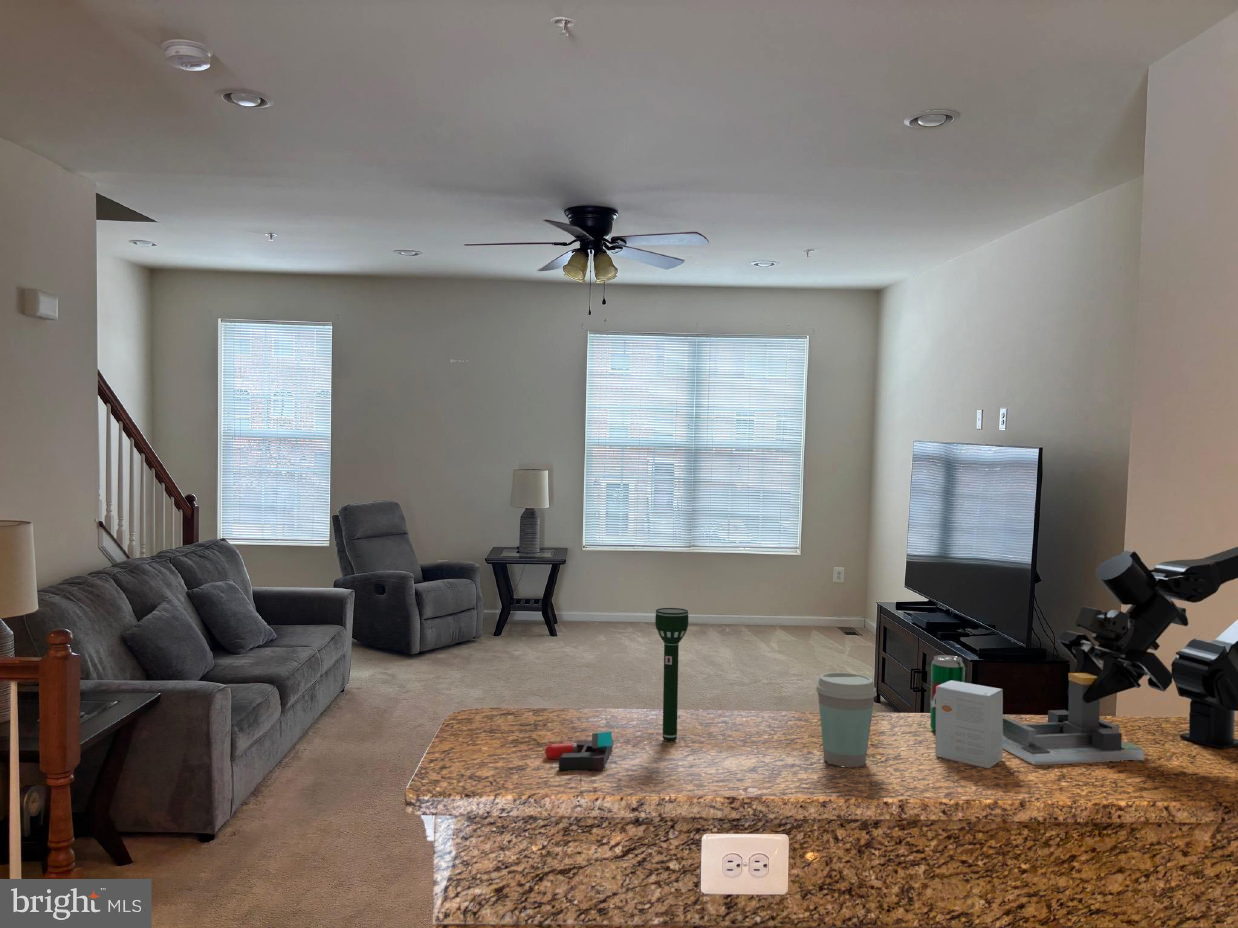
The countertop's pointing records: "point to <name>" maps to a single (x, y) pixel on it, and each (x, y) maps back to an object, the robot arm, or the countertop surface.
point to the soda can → (944, 678)
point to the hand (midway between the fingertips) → (1077, 697)
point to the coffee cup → (845, 717)
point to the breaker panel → (1066, 742)
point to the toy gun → (583, 753)
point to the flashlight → (671, 663)
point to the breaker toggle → (1081, 706)
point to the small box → (969, 723)
